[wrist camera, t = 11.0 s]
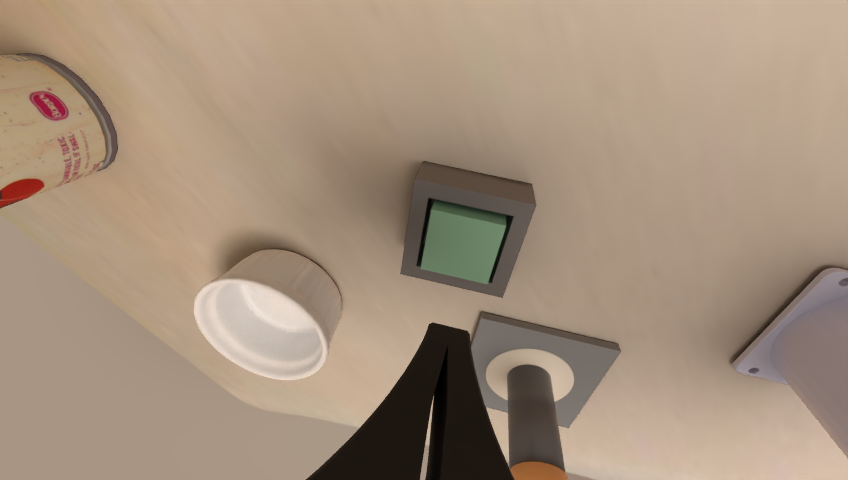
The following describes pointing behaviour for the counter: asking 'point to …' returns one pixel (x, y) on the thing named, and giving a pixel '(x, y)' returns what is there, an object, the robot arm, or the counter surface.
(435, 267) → the button
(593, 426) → the counter surface
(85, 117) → the aerosol can
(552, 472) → the cylinder
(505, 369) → the grey square plate
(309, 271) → the ramekin
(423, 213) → the button housing
